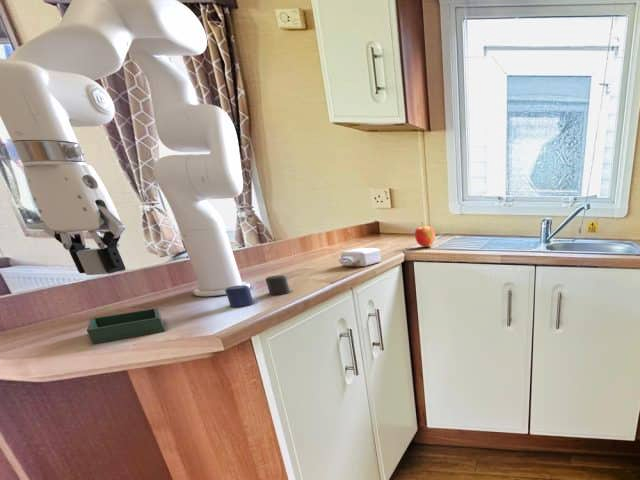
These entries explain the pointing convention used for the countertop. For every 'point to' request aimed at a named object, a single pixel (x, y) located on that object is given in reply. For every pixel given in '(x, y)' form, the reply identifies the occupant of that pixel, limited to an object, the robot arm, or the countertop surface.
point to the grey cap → (91, 262)
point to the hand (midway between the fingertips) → (102, 270)
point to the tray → (125, 325)
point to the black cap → (277, 285)
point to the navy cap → (239, 296)
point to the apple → (425, 236)
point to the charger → (360, 257)
